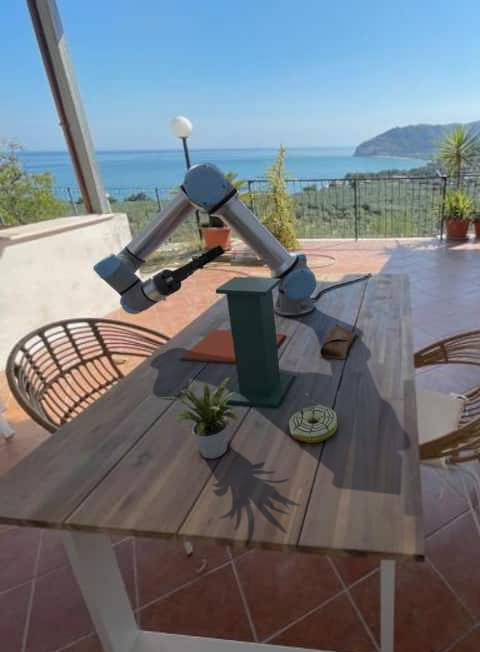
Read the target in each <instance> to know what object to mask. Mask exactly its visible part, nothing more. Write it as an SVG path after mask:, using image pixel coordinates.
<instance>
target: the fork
mask: <svg viewBox="0 0 480 652" xmlns="http://www.w3.org/2000/svg"><path fill="white" fill-rule="evenodd" d="M201 255H202V254H192V256H191V261H194V260H195V259H197V258H198V257H200V256H201ZM198 260H199V258H198ZM268 262H269V260H264V259H259V258H258V257H257V256H244V255H243V256H242V255H241V256H240V255H238V256H237V257H236V256H233V255H221V256H218V257H217V258H215V259H214V260H212V261H210V263H219V264H220V263H221V264H230V266H232V267H233V266H235V267H264V266H266V265H265V264H267V263H268Z"/></svg>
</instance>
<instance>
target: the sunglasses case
mask: <svg viewBox="0 0 480 652" xmlns="http://www.w3.org/2000/svg"><path fill="white" fill-rule="evenodd" d="M358 335H359V334H358V333H356V332H354V331H352V330H350V329H347V328H345V327H344V326H341V325H339V323H338V324H336V325H335V327H334V328H333V329H332V331H331V332H330V333H329V335H328V336H327V338H326V339H325V341H324V343H323V345H322V346H321V348H320V350H319V353H320V356H321V357H322V358H326V359H334V360H335V359H336V360H337V359H338V360H343V359H346V358H347V356H348V352H349V350H350V347H351V346H352V344H353V342H354V341H355V339H356V338H357V336H358Z"/></svg>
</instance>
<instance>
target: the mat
mask: <svg viewBox="0 0 480 652" xmlns="http://www.w3.org/2000/svg"><path fill="white" fill-rule="evenodd" d="M285 337H286V334H285V333H284V334H283V333H276V339H277V347H279V346H280V344H281V342H283V340H284V338H285ZM181 360H182V361H195V362H208V363H219V364H220V363H222V364H234V365H236V361H235V353H234V346H233V338H232V331H231V330H218V329H213V330H212V331H210V332H209V333H208V334H207V335H206V336H205V337H204V338H202V339H201V340H200V341H198V343H197V344H195V345H194V346H193V347H192V348H191V349H189V350H188V351H187V352H186V353H185V354H184V355H182V356H181Z"/></svg>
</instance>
